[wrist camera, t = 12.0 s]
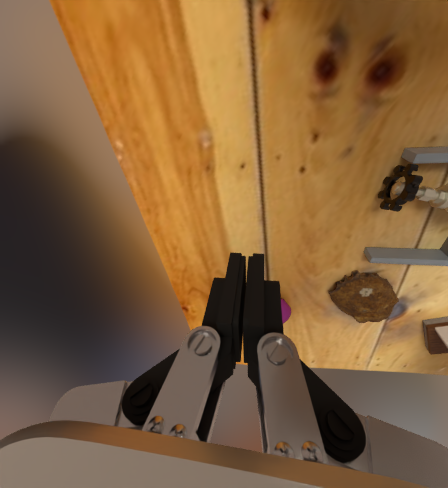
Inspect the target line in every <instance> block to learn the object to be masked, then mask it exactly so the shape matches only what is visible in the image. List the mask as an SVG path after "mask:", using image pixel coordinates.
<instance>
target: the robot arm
mask: <svg viewBox="0 0 448 488" xmlns="http://www.w3.org/2000/svg"><path fill="white" fill-rule="evenodd" d="M242 338H243V346H244V363H248V377H249V378H250V379H251V381H252V382H253V383H254V385H255V386H256V393H257V403H258V412H259V422H260V431H261V440H262V450H263V453H262V452H256V451H251V450H246V449H240V448H234V447H229V446H224V445H218V444H213V443H209V442H210V438H211V434H212V431H213V427H214V424H215V420H216V416H217V412H218V408H219V405H220V401H221V397H222V394H223V390H224V386H225V381H226V380H227V379H228V378H229V377H230V376H231V375H233V369H235V365H236V362H240V361H241V350H242ZM0 488H448V449H447V448H446V447H445V446H443V445H441V444H439V443H437V442H435V441H432V440H430V439H427V438H425V437H422V436H420V435H417V434H414V433H412V432H409V431H407V430H404V429H402V428H399V427H397V426H394V425H391V424H389V423H386V422H383V421H381V420H379V419H376V418H373V417H371V416H367V417H365V416H362V415H359V414H357V413H355V412H354V411H353V410H352V409H351V408H350V407H349V406H348V405H347V404H346V403H345V402H344V401H343V400H342V399H341V398H340V397H339V396H337V394H336V393H335V392H334V391H332V390H331V389H330V388H329V387H328V386H327V385H326V384H325V383H324V382H323V381H322V380H321V379H320V378H319V377H318V376H317V375H316V374H315V373H314V372H313V371H312V370H311V369H309V367H308V366H307V365H305V364H304V363H303V362H302V361H301V360H300V359H299V355H298V352H297V349H296V346H295V344H294V343H293V342H292V341H291V339H290V338H288V337H287V336H285V335H284V334H283V321H282V308H281V295H280V283H279V281H265V280H264V254H253V256H249V259H248V270H247V282H246V257H245V256H242V254H241V253H230V257H229V262H228V267H227V272H226V277H225V278H214V280H213V283H212V287H211V291H210V295H209V299H208V303H207V307H206V311H205V315H204V319H203V323H202V326H200V327H197V328H195V329H192V330H191V331H190V332H189V333H188V334H187V336H186V337H185V339H184V341H183V343H182V346H181V348H180V349H179V350H177V351H176V352H174V353H173V354H171V355H170V356H168V357H167V358H166V359H164V360H163V361H161V362H160V363H158V364H157V365H156V366H154V367H152V368H151V369H150V370H148V371H147V372H145V373H144V374H142V375H141V376H139V377H138V378H137V379H135V380H134V381H132V382H126V381H117V382H109V383H102V384H94V385H87V386H80V387H76V388H73V389H71V390H70V391H68V392H67V393H65V394H64V396H62V398H61V399H60V400H59V401H58V403H57V404H56V406H55V408H54V410H53V412H52V415H51V417H50V419H49V421H48V422H43V423H39V424H35V425H31V426H29V427H26V428H23V429H20V430H18V431H16V432H14V433H12V434H10V435H8V436H6V437H4V438H3V439H1V440H0Z"/></svg>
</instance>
